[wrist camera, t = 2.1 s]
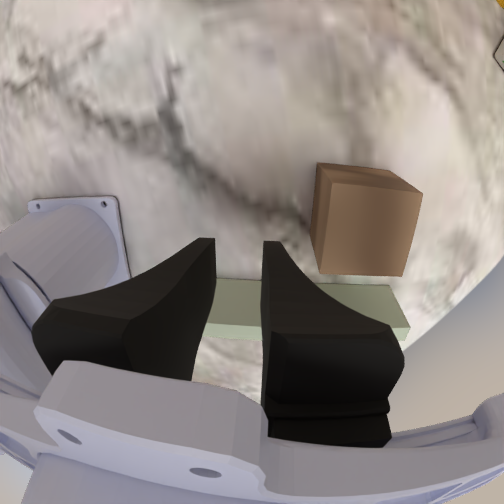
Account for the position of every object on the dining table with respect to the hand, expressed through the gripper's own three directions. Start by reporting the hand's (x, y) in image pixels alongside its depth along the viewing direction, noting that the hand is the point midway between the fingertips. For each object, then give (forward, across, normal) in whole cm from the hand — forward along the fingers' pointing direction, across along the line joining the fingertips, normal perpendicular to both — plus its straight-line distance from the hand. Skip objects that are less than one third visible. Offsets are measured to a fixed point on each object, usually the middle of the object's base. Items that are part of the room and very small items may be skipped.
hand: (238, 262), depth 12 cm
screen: (+8, -4, +7) cm, 11 cm away
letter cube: (+8, -6, 0) cm, 11 cm away
